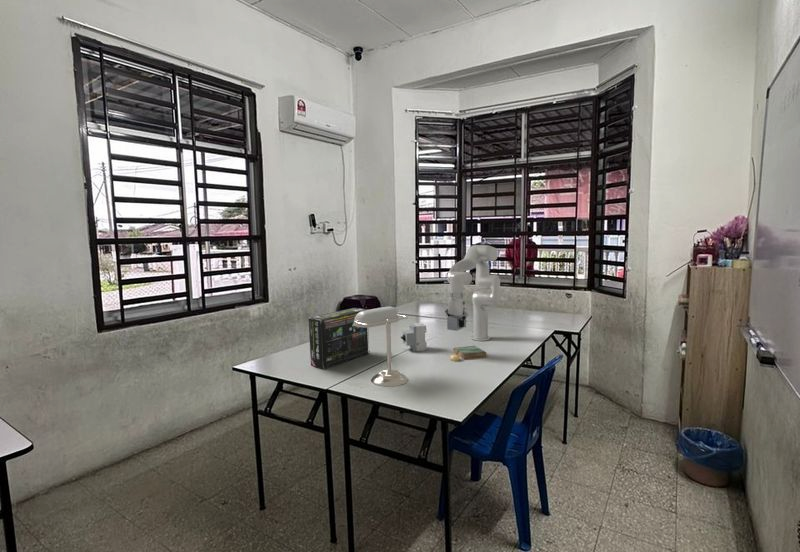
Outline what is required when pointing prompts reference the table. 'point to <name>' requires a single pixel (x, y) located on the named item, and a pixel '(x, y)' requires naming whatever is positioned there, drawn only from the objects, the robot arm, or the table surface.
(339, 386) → the table surface
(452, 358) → the cream dome
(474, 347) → the green board with frame
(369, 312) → the lamp
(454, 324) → the block
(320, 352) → the router box
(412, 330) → the circuit breaker
